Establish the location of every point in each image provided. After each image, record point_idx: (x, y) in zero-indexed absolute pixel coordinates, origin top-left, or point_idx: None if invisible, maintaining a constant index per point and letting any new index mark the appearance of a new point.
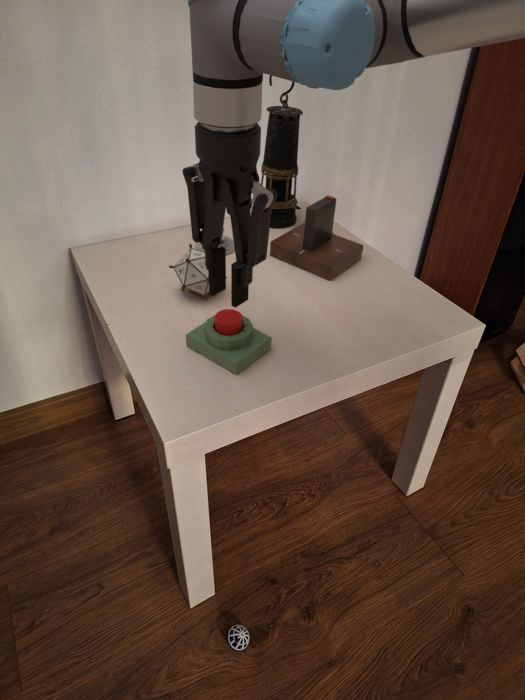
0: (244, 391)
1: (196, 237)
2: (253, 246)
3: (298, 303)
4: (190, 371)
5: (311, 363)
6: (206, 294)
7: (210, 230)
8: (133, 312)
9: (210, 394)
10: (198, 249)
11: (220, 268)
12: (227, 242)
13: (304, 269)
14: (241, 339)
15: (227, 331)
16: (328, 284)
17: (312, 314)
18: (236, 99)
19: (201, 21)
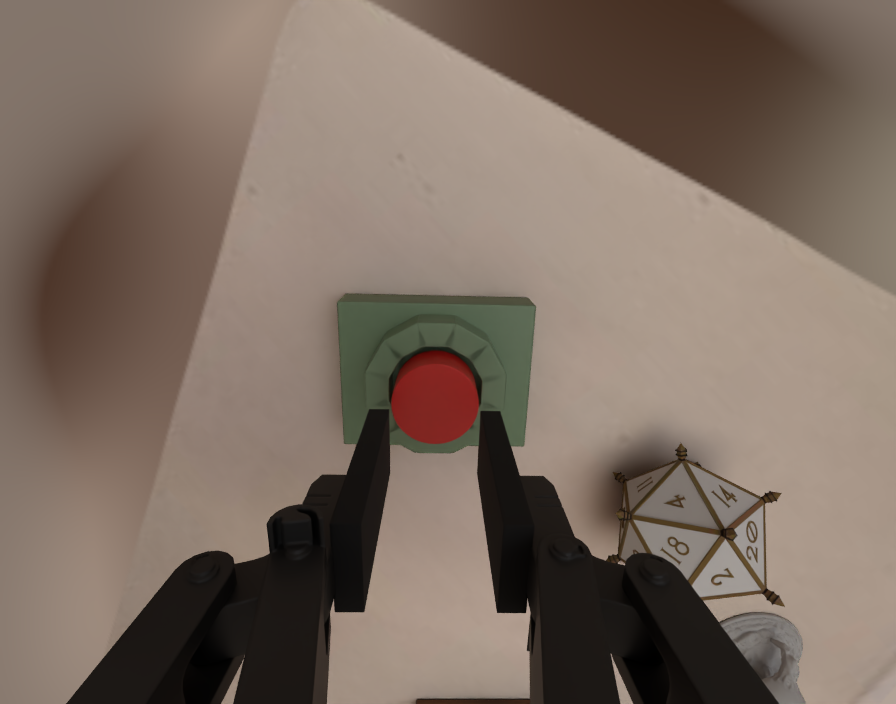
0: (287, 259)
1: (649, 579)
2: (107, 683)
3: (418, 595)
4: (447, 225)
5: (242, 443)
6: (623, 486)
7: (546, 666)
8: (752, 312)
9: (342, 191)
10: (777, 620)
11: (489, 511)
12: None
13: (493, 700)
14: (366, 368)
15: (410, 363)
16: (411, 687)
17: None
18: None
19: None
